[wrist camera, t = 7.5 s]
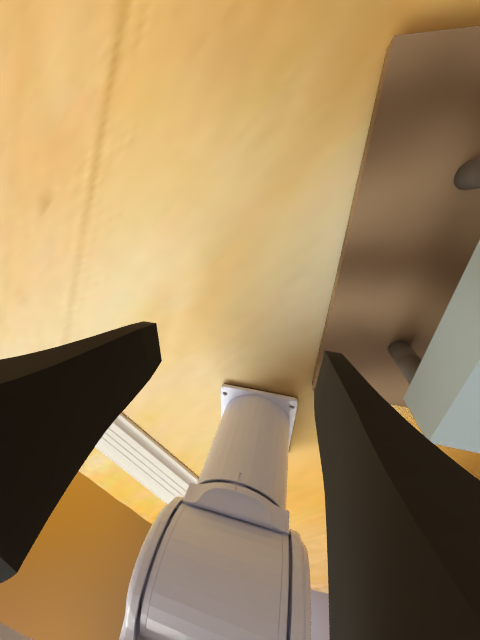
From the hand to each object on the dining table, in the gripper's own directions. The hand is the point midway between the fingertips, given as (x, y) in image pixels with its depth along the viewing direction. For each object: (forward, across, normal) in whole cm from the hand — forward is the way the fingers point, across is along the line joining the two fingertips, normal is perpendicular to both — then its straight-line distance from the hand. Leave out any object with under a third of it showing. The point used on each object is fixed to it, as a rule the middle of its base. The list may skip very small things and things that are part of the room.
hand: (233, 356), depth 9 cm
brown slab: (+10, -12, -2) cm, 16 cm away
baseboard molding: (+11, +12, +33) cm, 37 cm away
